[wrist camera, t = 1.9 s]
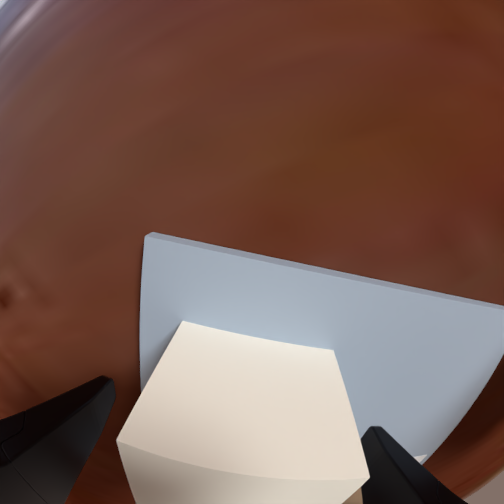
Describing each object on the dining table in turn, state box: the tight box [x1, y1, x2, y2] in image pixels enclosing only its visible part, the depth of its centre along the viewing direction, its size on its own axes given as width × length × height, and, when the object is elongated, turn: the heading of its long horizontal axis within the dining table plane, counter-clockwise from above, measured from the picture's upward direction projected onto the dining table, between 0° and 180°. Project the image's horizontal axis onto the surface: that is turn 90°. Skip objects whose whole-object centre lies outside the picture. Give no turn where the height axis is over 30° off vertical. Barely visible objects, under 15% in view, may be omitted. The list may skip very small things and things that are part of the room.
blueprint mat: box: [140, 232, 504, 465], centre depth 11 cm, size 20×16×1 cm
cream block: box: [116, 321, 370, 504], centre depth 7 cm, size 5×5×5 cm
